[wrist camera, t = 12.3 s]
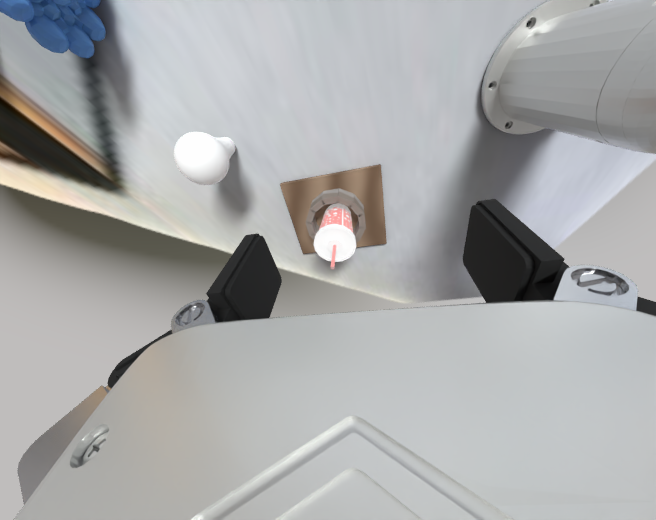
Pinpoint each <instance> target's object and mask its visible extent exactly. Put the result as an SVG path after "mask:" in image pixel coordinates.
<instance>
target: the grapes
mask: <svg viewBox="0 0 656 520" xmlns="http://www.w3.org/2000/svg"><path fill="white" fill-rule="evenodd" d="M100 1H101V0H0V12H2V13H4V14H6V15H7V16H9V17H11V18H13V19H14V20H16V21H22V22H25V25H26V27H27V30H28V31H29V33H30V34H31V36H32V37H33V38H34V39H35V40H36V41H37V42H38V43H39V44H40V45H41V46H43V47H44V48H46V49H48V50H50V51H52V52H55V53H64V52H66V51H67V50H68V49H69V50H70V51H71V52H73V53H74V54H76V55H78V56H80V57H83V58H90V57H91V56H93V54H94V51H95V50H94V45H93V42H92V41H91V39H92V40H95V41H101V40H103V39H104V38H105V35H106V30H105V27H104V25H103V23H102V21H101V20H100V18H99V17H98V16H97V15H96V14H95V12H94V11H93V10H91V9H90V8H96V7H98V6H99V4H100ZM88 7H90V8H88Z"/></svg>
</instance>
